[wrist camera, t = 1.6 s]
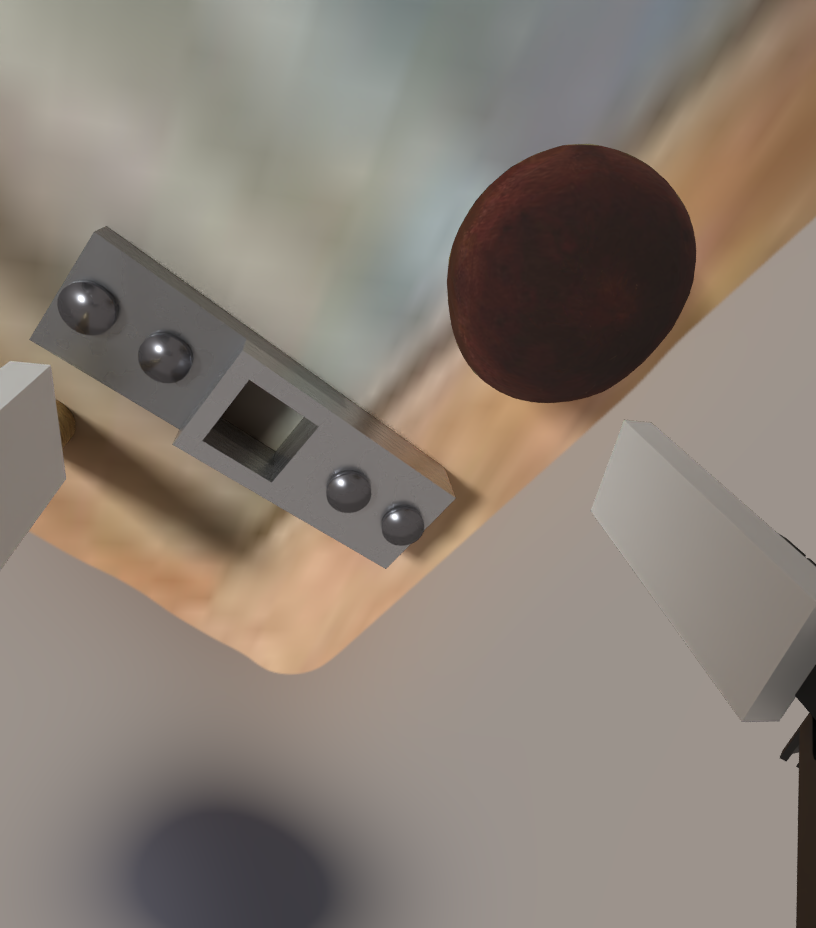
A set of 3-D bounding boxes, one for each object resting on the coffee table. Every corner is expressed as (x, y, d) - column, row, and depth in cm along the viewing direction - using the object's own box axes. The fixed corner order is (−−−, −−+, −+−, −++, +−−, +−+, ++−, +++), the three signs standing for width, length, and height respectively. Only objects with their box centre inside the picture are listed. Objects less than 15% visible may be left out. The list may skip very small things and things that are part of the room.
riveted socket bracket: (44, 328, 34) (7, 355, 30) (106, 226, 32) (76, 240, 28) (380, 534, 44) (386, 574, 40) (444, 467, 42) (457, 503, 38)
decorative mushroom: (417, 132, 32) (487, 137, 19) (610, 145, 33) (797, 157, 20) (406, 333, 37) (454, 444, 24) (572, 335, 38) (701, 441, 26)
